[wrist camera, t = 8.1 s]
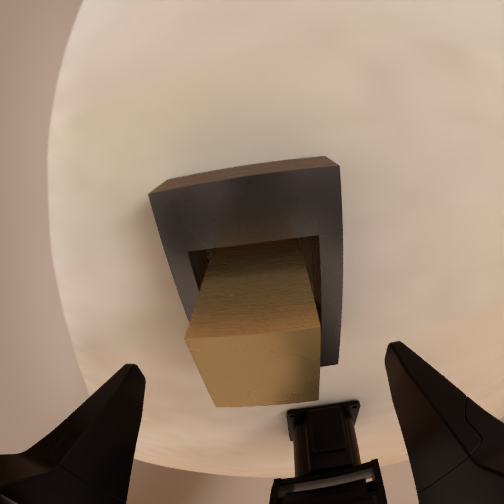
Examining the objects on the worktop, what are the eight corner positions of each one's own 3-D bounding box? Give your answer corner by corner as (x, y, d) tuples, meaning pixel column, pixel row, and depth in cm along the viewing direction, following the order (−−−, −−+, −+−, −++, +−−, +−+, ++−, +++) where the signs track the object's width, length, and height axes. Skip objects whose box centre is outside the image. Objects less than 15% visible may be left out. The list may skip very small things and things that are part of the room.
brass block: (301, 294, 16) (318, 400, 9) (231, 302, 16) (215, 406, 10) (296, 229, 14) (320, 327, 8) (216, 239, 14) (184, 338, 8)
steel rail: (330, 335, 17) (337, 364, 15) (215, 346, 18) (210, 375, 15) (325, 156, 12) (339, 165, 10) (167, 179, 13) (148, 193, 11)
